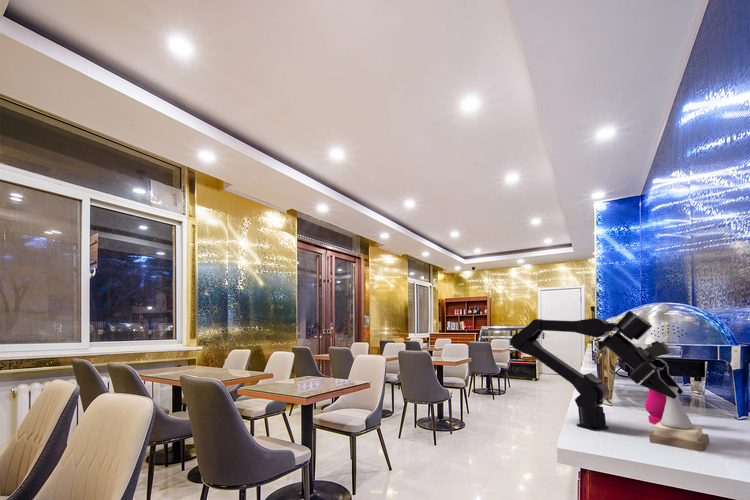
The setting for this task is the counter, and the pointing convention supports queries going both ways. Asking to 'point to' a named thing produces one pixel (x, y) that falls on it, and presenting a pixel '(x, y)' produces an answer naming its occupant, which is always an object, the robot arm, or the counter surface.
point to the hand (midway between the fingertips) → (679, 395)
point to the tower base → (679, 437)
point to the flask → (675, 413)
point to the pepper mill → (655, 406)
